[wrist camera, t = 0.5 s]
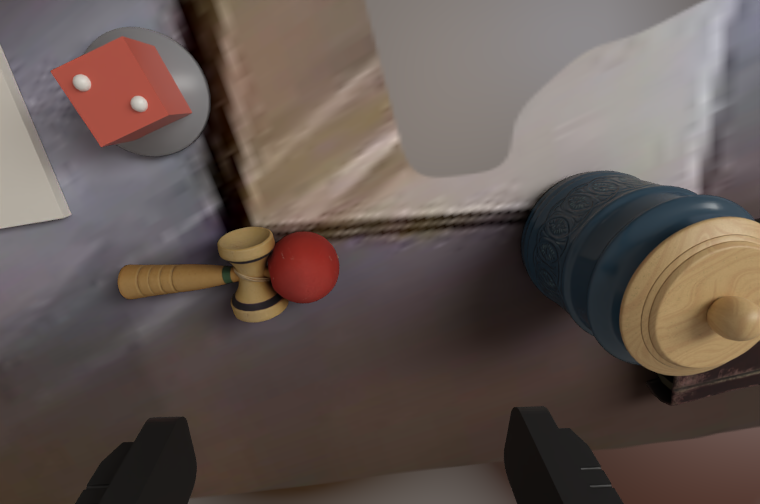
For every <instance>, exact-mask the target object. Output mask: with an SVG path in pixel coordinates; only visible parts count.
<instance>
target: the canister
mask: <svg viewBox="0 0 760 504" xmlns="http://www.w3.org/2000/svg"><path fill="white" fill-rule="evenodd" d="M521 254H522V259H523V263H524V266H525V268H526V270H527V272H528V274H529V276H530V278H531V280H532V281H533V283H534V284H535V286H536V287H537V288H538V289H539V290H540V291H541V292H542V293H543V294H544V295H545V296H547V297H548V298H549V299H551V300H552V301H554V302H556V303H557V304H558V305H560V306H561V307H562V308H563V309H564V310H565V311H566V312H567V313H568V314H570V316H571V317H572V319H573V320H574V321H575V323H576V324H577V325H578V326H579V327H581V328H582V329H583V330H584V331H586V332H587V333H589V334H591V335H593V336H594V337H595V338H596V340H597V341H598V343H599V344H600V345H601V346H602V347H603V348H604V349H605V350H606V351H607V352H608V353H610V354H611V355H612V356H614V357H616V358H618V359H620V360H622V361H624V362H627V363H630V364H634V365H640V366H644V367H645V368H647V369H649V370H651V371H653V372H656V373H659V374H663V375H670V376H687V375H694V374H699V373H702V372H706V371H709V370H712V369H714V368H717V367H719V366H721V365H723V364H725V363H727V362H729V361H730V360H732V359H734V358H736V357H738V356H740V355H741V354H743V353H745V352H746V351H747V350H749V349H750V348H751V347H753V346H754V345H755V344H756V343H757V342H758V341H759V340H760V223H758V222H756V221H755V220H754V218H753V217H752V216H751V215H750V214H749V213H748V212H747V211H746V210H745V209H744V208H742V207H741V206H740V205H738V204H736V203H735V202H732V201H730V200H728V199H725V198H722V197H718V196H712V195H697V194H696V193H694V192H692V191H690V190H687V189H684V188H680V187H675V186H664V185H659V184H655V183H651V182H647V181H643V180H640V179H639V178H636V177H634V176H632V175H629V174H625V173H620V172H615V171H595V172H585V173H580V174H577V175H574V176H571V177H569V178H567V179H565V180H563V181H561V182H559V183H558V184H556V185H555V186H553V187H552V188H551V189H550V190H548V191H547V192H546V193H545V194H544V195H543V196H542V197H541V198H540V199H539V201H538V202H537V203H536V204H535V206H534V207H533V209H532V211H531V212H530V214H529V216H528V218H527V220H526V223H525V226H524V229H523V233H522V239H521Z"/></svg>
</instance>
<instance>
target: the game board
mask: <svg viewBox="0 0 760 504" xmlns="http://www.w3.org/2000/svg"><path fill="white" fill-rule="evenodd" d="M70 215H71V212H70V210H69V207H68V205H67V203H66V200H65V198H64V195H63V193H62V191H61V188H60V186H59V184H58V181H57V179H56V176H55V174H54V172H53V169H52V167H51V164H50V162H49V160H48V157H47V155H46V153H45V150H44V148H43V145H42V143H41V141H40V138H39V136H38V133H37V131H36V129H35V126H34V124H33V122H32V119H31V117H30V114H29V112H28V110H27V107H26V105H25V103H24V100H23V98H22V95H21V93H20V91H19V88H18V86H17V83H16V81H15V79H14V76H13V74H12V72H11V69H10V67H9V64H8V62H7V60H6V57H5V55H4V52H3V50H2V48H1V45H0V229H1V228H7V227H13V226H19V225H25V224H31V223H37V222H43V221H49V220H55V219H61V218H65V217H68V216H70Z"/></svg>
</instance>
